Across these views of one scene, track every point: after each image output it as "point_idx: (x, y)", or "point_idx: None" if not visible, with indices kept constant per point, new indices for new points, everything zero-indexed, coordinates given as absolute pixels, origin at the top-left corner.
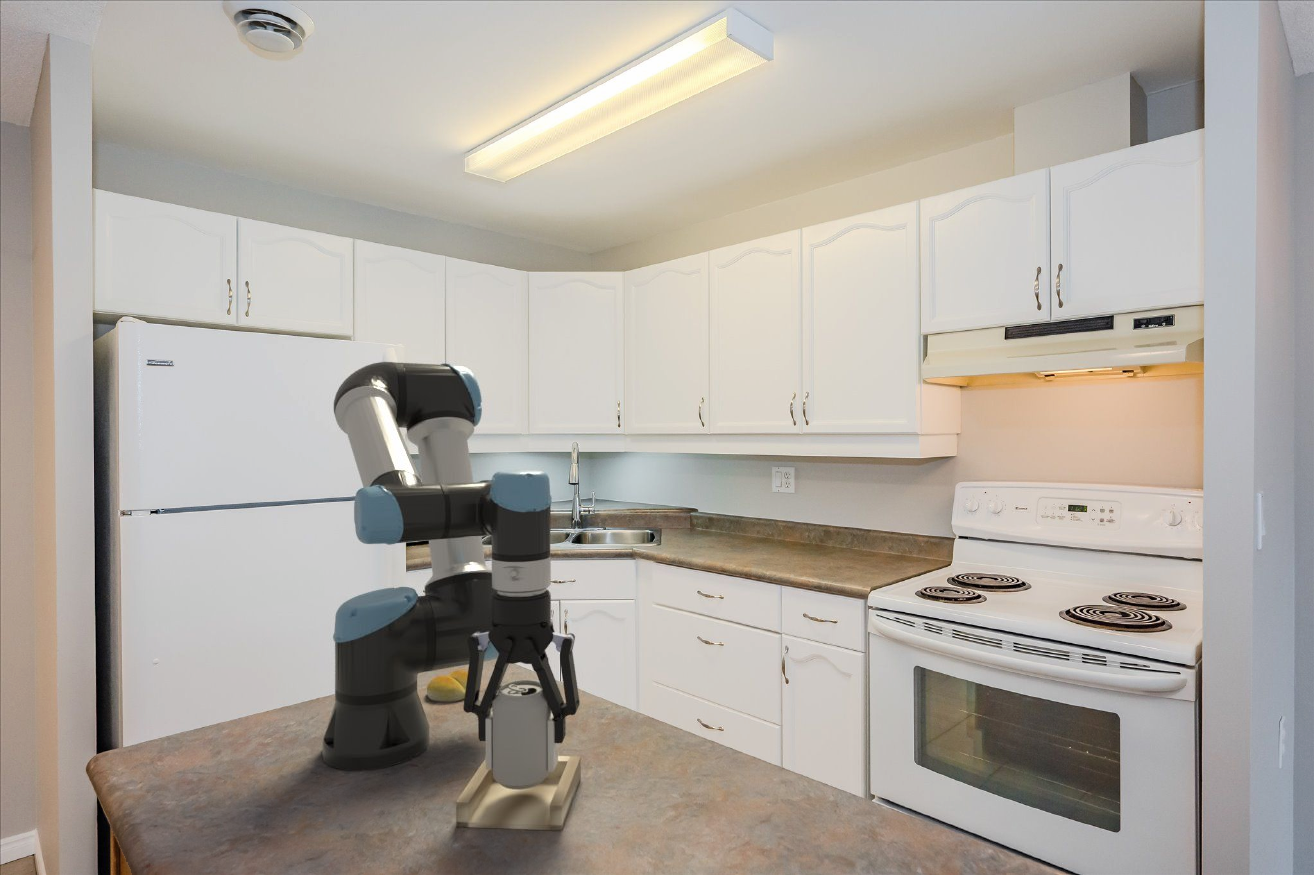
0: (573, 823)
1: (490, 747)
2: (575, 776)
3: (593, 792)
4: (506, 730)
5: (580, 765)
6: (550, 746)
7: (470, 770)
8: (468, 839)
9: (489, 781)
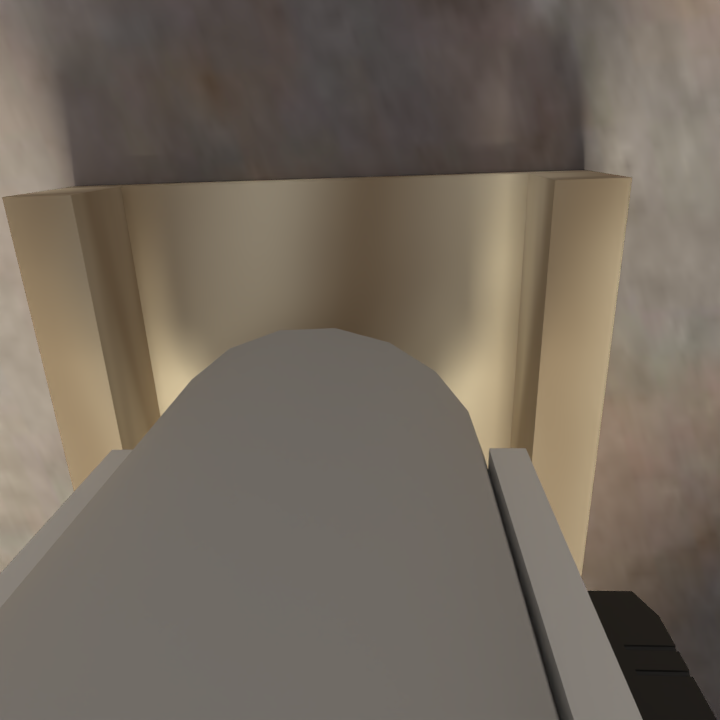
0: None
1: (523, 535)
2: None
3: (64, 490)
4: (324, 550)
5: None
6: (46, 546)
7: None
8: (492, 61)
9: None
